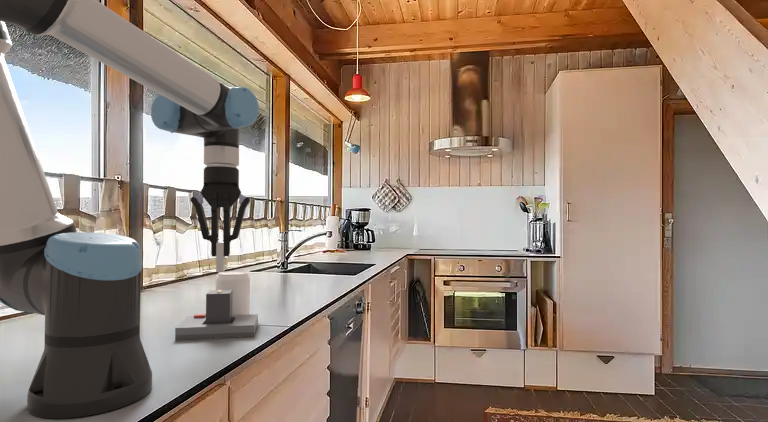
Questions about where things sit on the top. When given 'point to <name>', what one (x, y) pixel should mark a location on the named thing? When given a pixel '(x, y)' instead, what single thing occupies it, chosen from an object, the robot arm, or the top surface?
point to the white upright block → (236, 289)
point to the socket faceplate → (216, 327)
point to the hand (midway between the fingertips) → (220, 270)
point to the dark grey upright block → (219, 307)
